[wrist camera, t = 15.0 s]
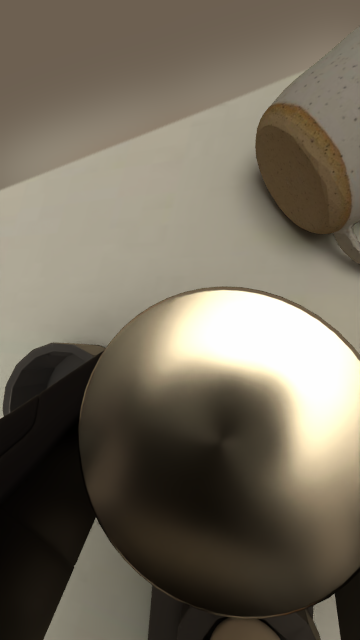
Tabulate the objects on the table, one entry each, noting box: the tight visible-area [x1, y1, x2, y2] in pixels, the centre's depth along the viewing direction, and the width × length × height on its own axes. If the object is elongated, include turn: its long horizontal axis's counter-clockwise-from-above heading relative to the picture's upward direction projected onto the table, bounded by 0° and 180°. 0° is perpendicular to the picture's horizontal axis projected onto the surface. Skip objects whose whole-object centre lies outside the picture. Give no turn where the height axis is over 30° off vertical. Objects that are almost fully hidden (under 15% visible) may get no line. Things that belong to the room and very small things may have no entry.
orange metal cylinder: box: [78, 286, 360, 619], centre depth 9 cm, size 4×4×10 cm
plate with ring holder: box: [148, 586, 321, 640], centre depth 14 cm, size 12×8×4 cm
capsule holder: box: [3, 343, 106, 416], centre depth 17 cm, size 7×7×4 cm
